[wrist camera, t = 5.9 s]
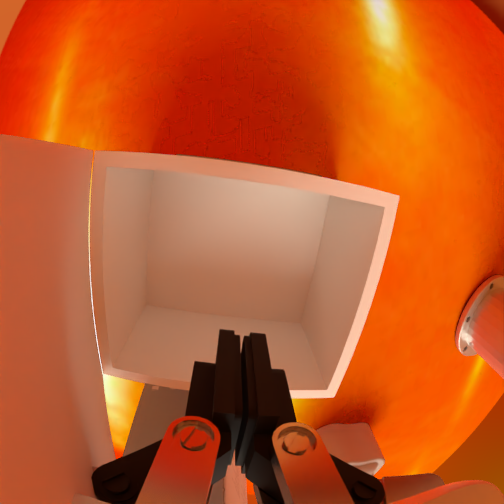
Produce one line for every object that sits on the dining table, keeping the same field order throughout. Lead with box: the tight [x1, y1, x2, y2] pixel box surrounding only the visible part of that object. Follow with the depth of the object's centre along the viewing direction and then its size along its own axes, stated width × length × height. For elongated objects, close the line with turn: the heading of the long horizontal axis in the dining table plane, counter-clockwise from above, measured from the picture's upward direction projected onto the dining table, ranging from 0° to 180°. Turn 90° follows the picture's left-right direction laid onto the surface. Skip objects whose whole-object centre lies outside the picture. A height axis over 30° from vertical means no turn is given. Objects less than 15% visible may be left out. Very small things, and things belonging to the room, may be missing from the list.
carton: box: [90, 151, 399, 398], centre depth 20 cm, size 16×14×10 cm
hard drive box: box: [123, 383, 247, 504], centre depth 20 cm, size 16×8×20 cm, turn 5°
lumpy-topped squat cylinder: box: [316, 423, 385, 476], centre depth 31 cm, size 10×13×9 cm
